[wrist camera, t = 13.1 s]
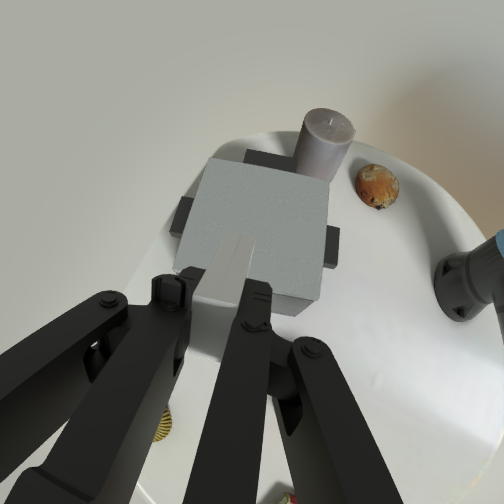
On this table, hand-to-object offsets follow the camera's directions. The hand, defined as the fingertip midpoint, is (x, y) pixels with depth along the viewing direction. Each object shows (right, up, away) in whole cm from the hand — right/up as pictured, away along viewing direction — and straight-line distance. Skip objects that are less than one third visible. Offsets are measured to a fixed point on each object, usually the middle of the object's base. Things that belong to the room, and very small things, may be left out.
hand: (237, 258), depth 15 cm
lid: (+2, +5, +24) cm, 25 cm away
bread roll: (+28, +13, +43) cm, 53 cm away
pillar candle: (+14, +18, +43) cm, 49 cm away
